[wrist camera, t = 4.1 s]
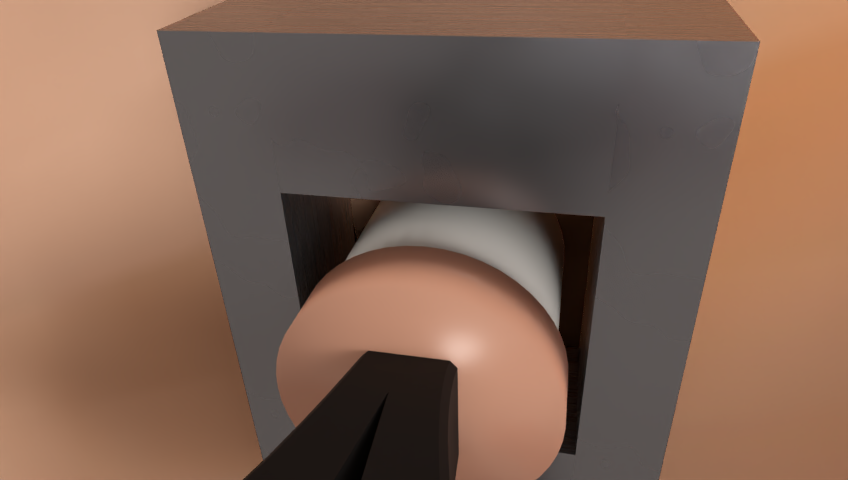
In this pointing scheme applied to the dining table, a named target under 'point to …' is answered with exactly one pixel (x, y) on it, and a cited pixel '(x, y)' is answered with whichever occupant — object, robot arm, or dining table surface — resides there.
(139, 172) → the dining table surface
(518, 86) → the panel
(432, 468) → the robot arm
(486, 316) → the peach ball
